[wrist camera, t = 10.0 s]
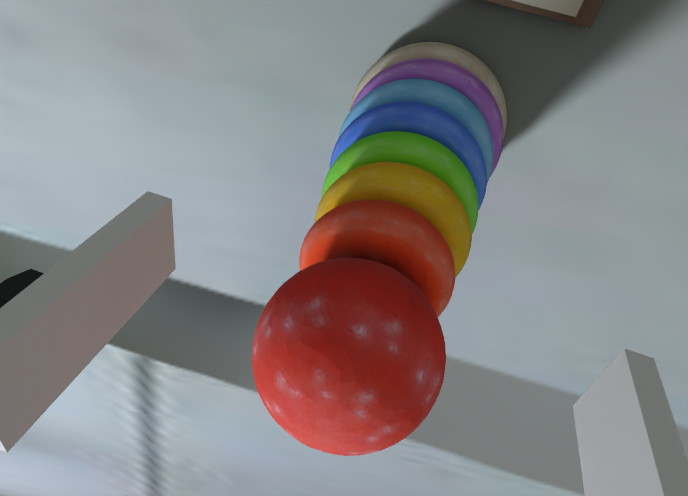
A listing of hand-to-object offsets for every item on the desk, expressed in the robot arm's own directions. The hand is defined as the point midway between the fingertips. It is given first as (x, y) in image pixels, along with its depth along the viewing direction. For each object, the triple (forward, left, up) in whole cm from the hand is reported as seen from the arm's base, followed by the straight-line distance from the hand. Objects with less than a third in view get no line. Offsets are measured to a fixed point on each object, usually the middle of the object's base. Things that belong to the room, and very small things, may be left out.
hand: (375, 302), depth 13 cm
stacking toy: (0, 0, -15) cm, 15 cm away
